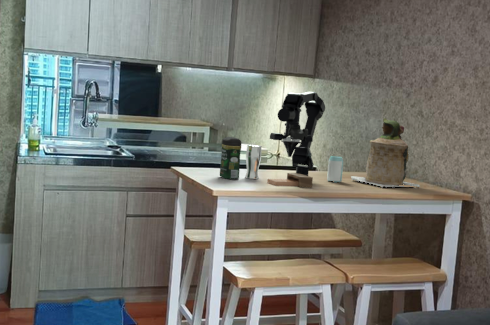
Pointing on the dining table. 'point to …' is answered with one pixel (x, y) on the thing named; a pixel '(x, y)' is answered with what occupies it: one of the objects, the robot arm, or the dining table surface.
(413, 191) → the dining table surface
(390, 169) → the cookie jar
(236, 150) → the coffee jar
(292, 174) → the brown rectangular block
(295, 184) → the tile
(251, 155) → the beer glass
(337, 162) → the white teal canister
